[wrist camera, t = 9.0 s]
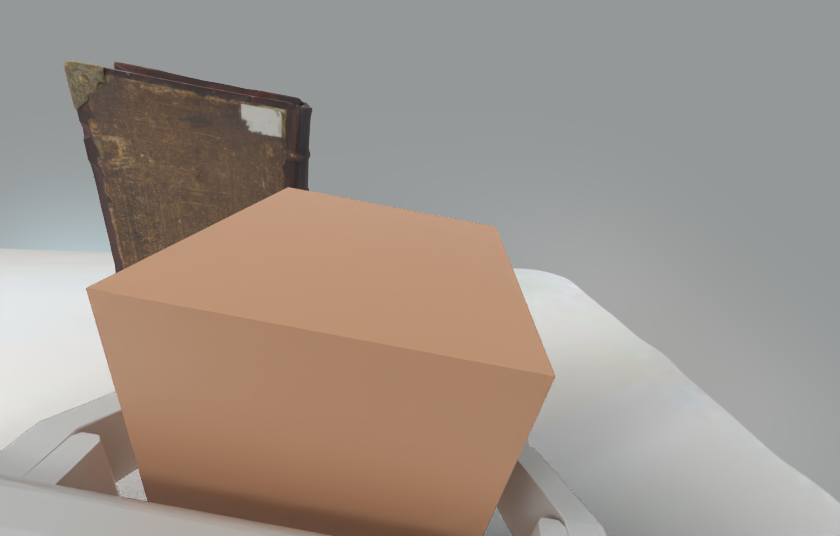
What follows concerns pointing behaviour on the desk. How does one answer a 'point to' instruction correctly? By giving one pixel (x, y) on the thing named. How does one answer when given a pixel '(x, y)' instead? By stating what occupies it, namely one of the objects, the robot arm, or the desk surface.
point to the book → (182, 151)
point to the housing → (327, 368)
